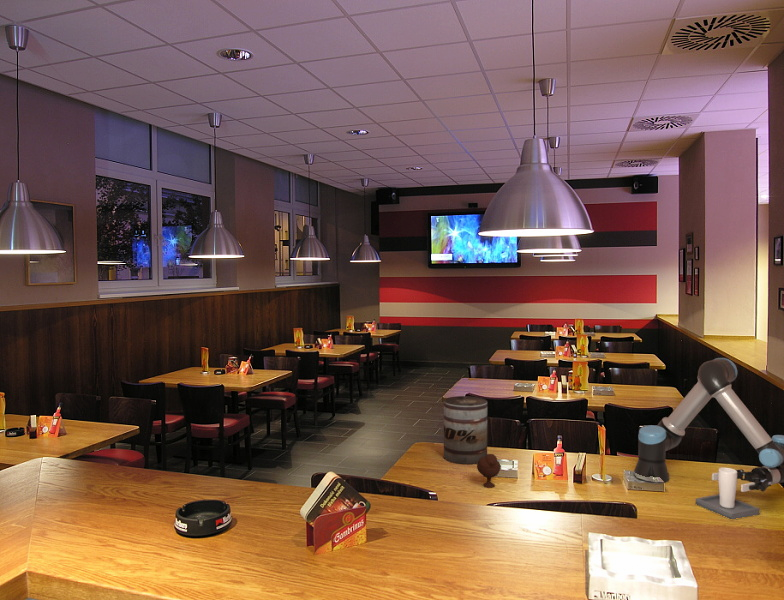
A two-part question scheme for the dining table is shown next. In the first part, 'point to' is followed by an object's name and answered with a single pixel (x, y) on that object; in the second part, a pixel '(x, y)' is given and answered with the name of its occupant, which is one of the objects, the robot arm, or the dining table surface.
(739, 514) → the serving tray
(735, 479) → the drinking glass
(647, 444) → the robot arm
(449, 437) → the barrel
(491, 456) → the ice cream bowl
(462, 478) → the dining table surface
